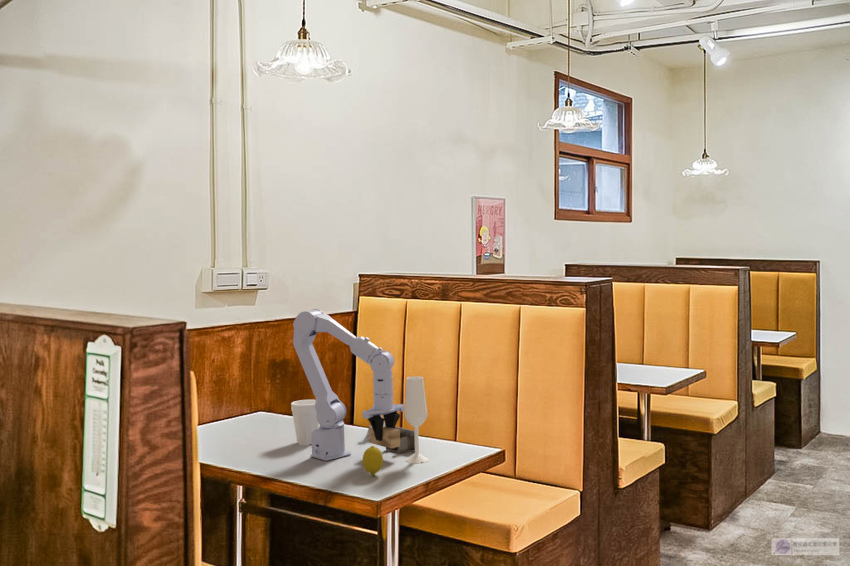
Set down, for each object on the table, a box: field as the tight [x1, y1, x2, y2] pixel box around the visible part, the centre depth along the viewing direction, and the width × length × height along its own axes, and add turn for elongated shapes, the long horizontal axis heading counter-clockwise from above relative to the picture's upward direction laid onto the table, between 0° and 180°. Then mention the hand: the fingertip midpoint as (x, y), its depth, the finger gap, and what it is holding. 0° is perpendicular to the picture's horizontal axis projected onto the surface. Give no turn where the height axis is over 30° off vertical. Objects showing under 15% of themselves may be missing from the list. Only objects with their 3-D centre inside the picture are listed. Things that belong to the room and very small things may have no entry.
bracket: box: [385, 426, 415, 454], centre depth 237 cm, size 6×10×6 cm, turn 43°
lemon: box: [362, 445, 384, 476], centre depth 211 cm, size 6×6×8 cm
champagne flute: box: [403, 375, 429, 464], centre depth 224 cm, size 7×7×24 cm
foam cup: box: [290, 399, 320, 446], centre depth 249 cm, size 10×9×13 cm
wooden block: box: [368, 425, 400, 448], centre depth 229 cm, size 10×4×5 cm, turn 43°
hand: (384, 439), depth 229 cm, fingers closed on wooden block, 3 cm apart
